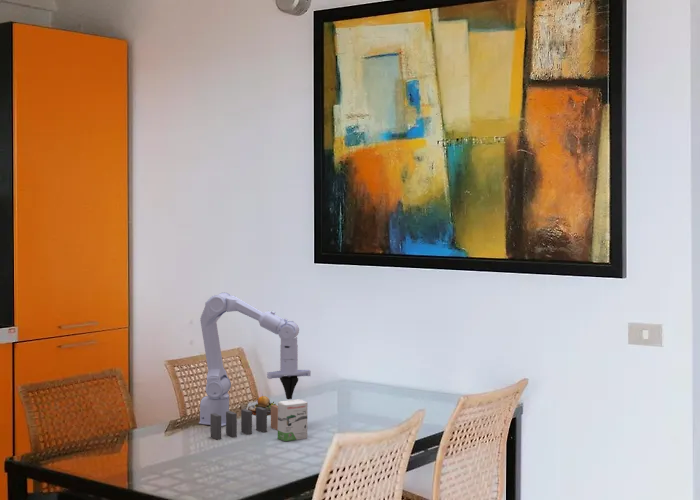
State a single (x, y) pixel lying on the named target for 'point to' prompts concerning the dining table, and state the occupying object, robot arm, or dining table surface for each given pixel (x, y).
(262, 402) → the burger
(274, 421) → the tile
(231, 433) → the tile
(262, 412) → the tile
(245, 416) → the tile
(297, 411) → the ink box
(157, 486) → the dining table surface
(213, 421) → the tile
